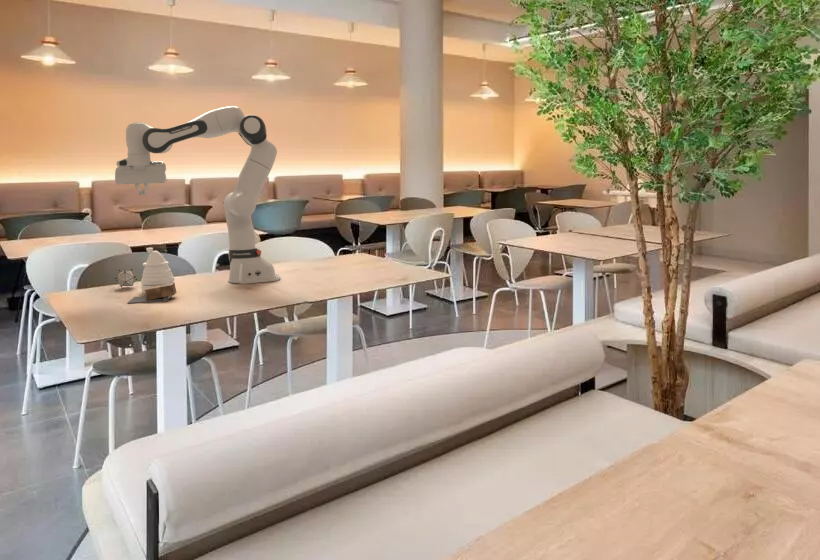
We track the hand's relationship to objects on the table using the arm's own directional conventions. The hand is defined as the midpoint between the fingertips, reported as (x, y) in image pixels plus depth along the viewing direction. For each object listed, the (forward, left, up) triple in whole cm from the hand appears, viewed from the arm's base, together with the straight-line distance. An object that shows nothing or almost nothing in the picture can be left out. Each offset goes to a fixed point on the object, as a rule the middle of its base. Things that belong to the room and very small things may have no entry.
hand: (142, 194), depth 272 cm
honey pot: (-6, +18, -39) cm, 44 cm away
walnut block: (-15, +37, -36) cm, 53 cm away
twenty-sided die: (+9, +5, -39) cm, 41 cm away
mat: (-5, +37, -39) cm, 54 cm away
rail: (-13, +37, -39) cm, 55 cm away
